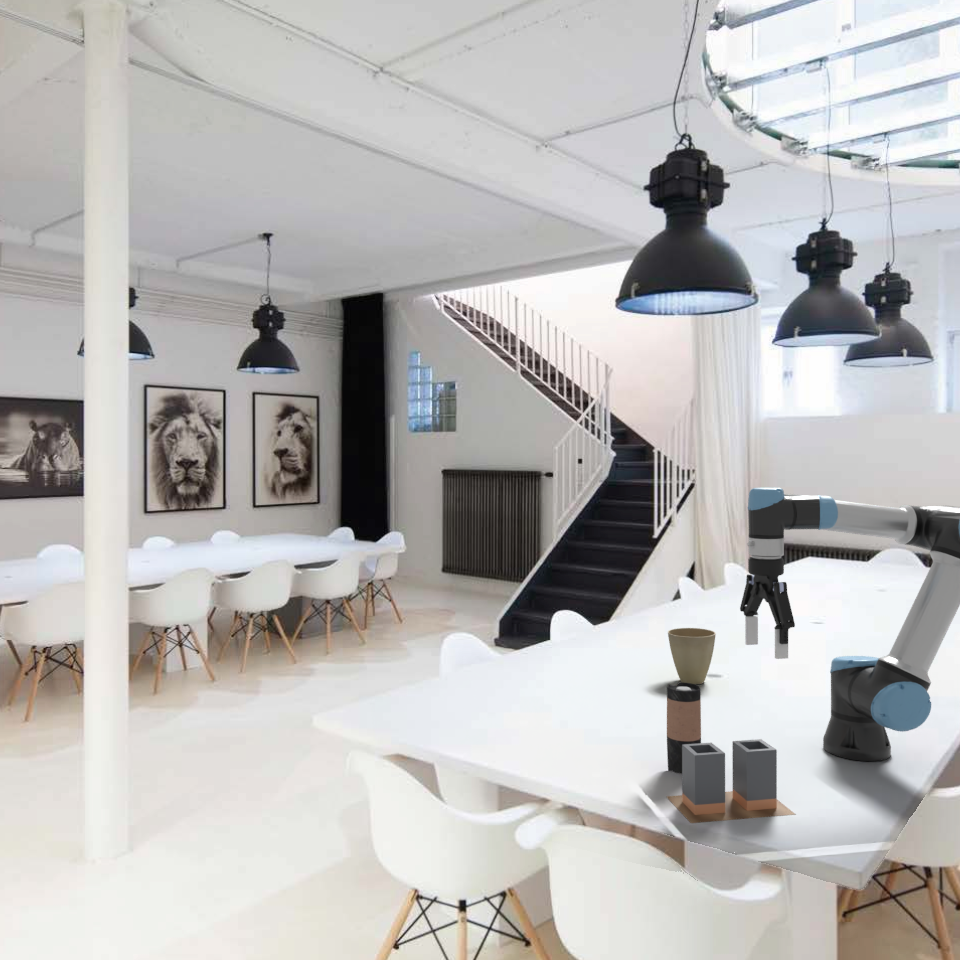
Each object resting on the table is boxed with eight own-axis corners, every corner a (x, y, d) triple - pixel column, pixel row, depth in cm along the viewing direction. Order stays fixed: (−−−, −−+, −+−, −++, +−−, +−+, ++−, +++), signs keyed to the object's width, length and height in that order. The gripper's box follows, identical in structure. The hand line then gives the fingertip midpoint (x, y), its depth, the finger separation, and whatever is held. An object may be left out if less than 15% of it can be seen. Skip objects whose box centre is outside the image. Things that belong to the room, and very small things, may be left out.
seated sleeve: (761, 795, 177) (761, 739, 177) (776, 808, 171) (776, 749, 170) (732, 798, 176) (732, 741, 176) (747, 810, 170) (746, 751, 169)
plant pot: (711, 675, 277) (711, 627, 277) (719, 688, 262) (719, 637, 262) (665, 675, 279) (665, 627, 278) (670, 687, 264) (670, 636, 263)
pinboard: (763, 794, 181) (763, 756, 180) (795, 820, 168) (795, 779, 168) (666, 802, 177) (665, 763, 177) (691, 829, 164) (690, 787, 164)
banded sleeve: (711, 799, 175) (711, 742, 175) (725, 812, 169) (725, 753, 169) (682, 801, 174) (682, 744, 174) (694, 814, 168) (694, 755, 168)
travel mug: (698, 781, 188) (698, 692, 188) (664, 777, 191) (663, 689, 190) (703, 769, 195) (702, 683, 195) (669, 765, 198) (669, 680, 198)
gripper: (725, 551, 200) (725, 639, 201) (778, 564, 176) (778, 665, 176) (755, 550, 201) (755, 638, 202) (811, 563, 177) (811, 663, 177)
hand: (766, 651), depth 189 cm, fingers open, 13 cm apart
